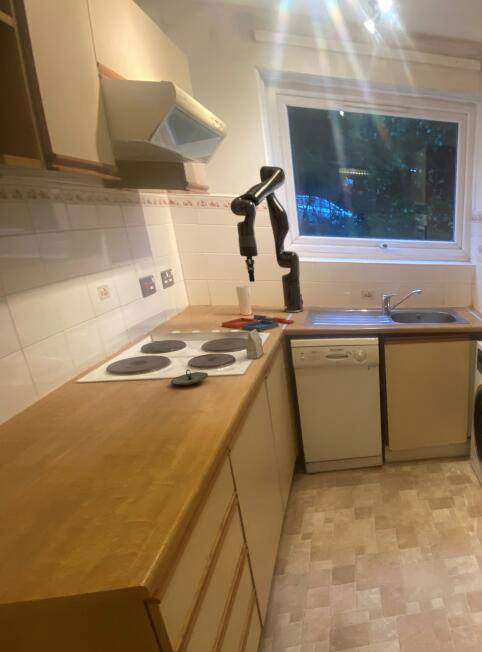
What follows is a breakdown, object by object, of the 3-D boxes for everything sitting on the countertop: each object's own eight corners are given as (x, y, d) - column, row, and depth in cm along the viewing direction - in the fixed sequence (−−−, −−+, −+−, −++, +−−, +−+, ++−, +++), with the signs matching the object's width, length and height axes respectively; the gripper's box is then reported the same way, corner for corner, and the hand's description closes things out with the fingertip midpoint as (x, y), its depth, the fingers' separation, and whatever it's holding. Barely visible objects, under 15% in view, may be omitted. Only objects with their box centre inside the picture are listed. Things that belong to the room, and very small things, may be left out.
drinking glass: (239, 313, 238) (235, 285, 232) (253, 312, 241) (249, 285, 235) (239, 315, 232) (235, 287, 227) (253, 315, 235) (250, 287, 230)
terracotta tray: (242, 321, 221) (242, 317, 221) (258, 323, 219) (258, 319, 218) (222, 326, 209) (221, 322, 209) (238, 328, 207) (238, 324, 206)
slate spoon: (252, 319, 227) (252, 315, 226) (257, 317, 230) (257, 314, 229) (269, 321, 224) (269, 317, 223) (274, 320, 227) (273, 316, 226)
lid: (210, 389, 140) (212, 374, 139) (174, 388, 133) (175, 372, 132) (202, 381, 147) (204, 367, 146) (167, 379, 140) (169, 364, 139)
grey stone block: (263, 353, 173) (260, 329, 170) (257, 358, 167) (254, 333, 163) (253, 353, 173) (250, 328, 169) (247, 358, 166) (244, 332, 163)
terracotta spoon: (272, 321, 224) (271, 317, 223) (276, 320, 227) (276, 316, 226) (289, 324, 221) (289, 320, 220) (293, 322, 224) (293, 318, 223)
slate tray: (262, 323, 218) (261, 320, 217) (278, 326, 216) (278, 322, 215) (242, 329, 206) (242, 325, 206) (259, 331, 204) (259, 327, 203)
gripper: (257, 246, 199) (261, 282, 205) (256, 244, 211) (260, 278, 217) (238, 246, 196) (243, 282, 202) (239, 244, 208) (243, 278, 214)
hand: (252, 280), depth 210 cm, fingers open, 8 cm apart
